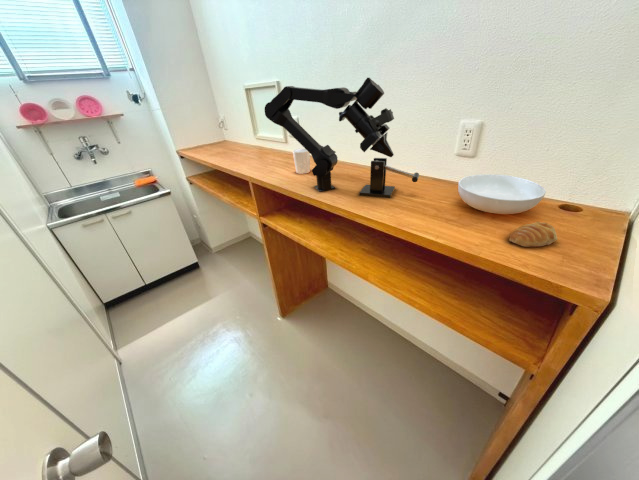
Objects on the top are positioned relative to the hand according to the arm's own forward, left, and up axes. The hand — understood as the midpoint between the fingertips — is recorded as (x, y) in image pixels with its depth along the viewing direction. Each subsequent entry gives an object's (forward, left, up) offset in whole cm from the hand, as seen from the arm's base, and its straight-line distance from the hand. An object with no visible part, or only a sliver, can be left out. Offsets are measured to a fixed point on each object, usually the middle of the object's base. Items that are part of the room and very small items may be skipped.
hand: (392, 156), depth 84 cm
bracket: (-3, -3, -13) cm, 14 cm away
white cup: (-45, -18, -13) cm, 50 cm away
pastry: (+42, +10, -13) cm, 45 cm away
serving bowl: (+25, +19, -13) cm, 34 cm away
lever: (+1, +1, -6) cm, 6 cm away
